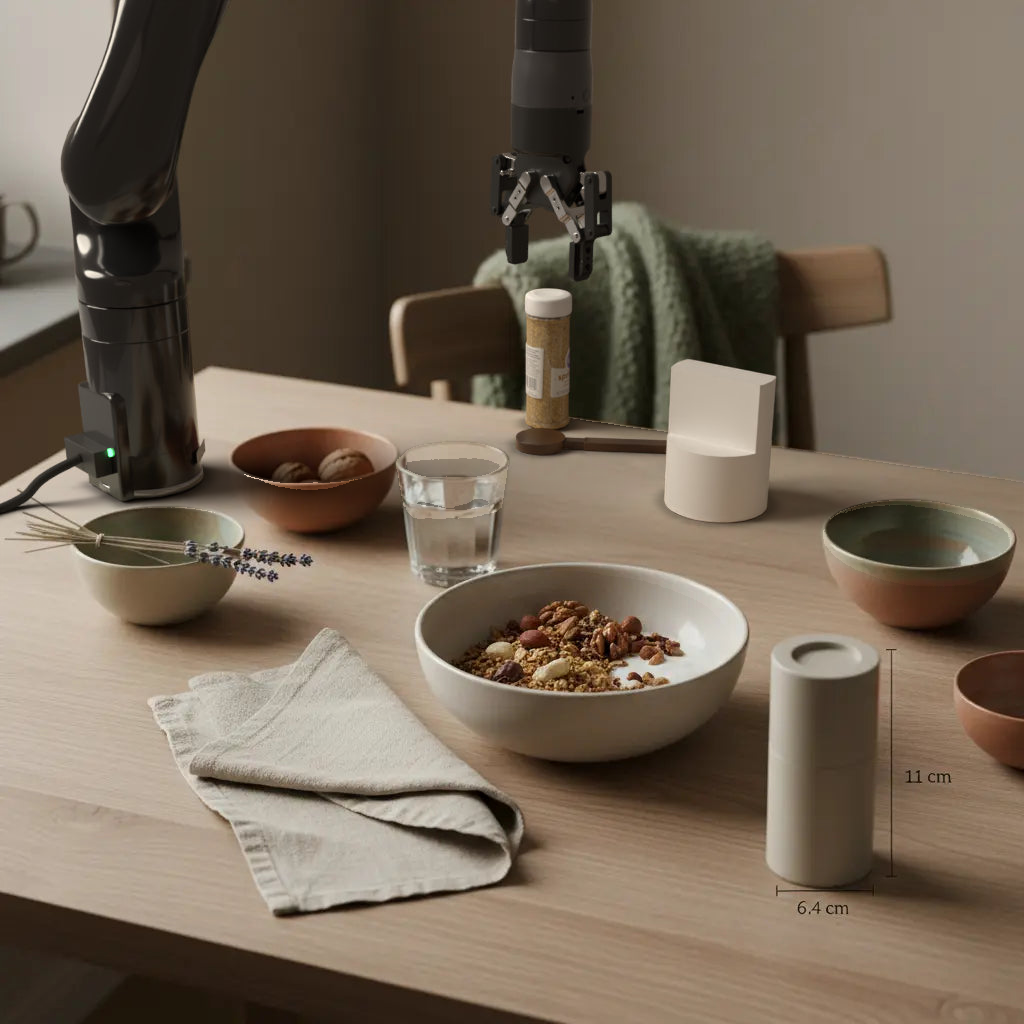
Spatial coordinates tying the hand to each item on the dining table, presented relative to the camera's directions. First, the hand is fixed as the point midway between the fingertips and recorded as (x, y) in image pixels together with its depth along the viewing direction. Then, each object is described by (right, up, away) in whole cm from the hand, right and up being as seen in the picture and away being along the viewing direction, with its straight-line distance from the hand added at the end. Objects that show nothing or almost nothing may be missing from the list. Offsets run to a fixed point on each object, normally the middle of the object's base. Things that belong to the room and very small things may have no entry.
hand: (548, 271), depth 146 cm
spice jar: (0, -15, +6) cm, 16 cm away
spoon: (+5, -17, 0) cm, 18 cm away
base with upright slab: (+14, -23, -13) cm, 30 cm away
